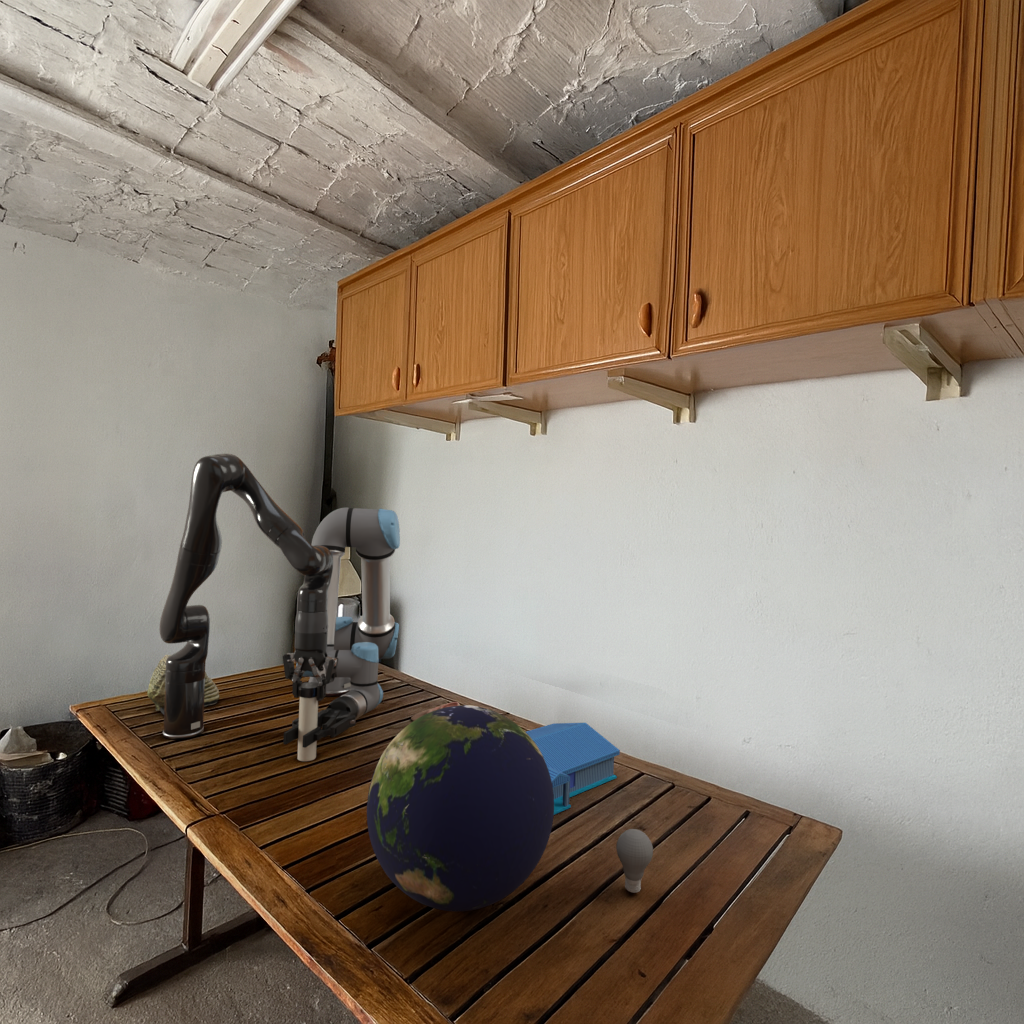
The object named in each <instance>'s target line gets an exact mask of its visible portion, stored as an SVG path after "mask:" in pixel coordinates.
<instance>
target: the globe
mask: <svg viewBox="0 0 1024 1024" xmlns="http://www.w3.org/2000/svg"><path fill="white" fill-rule="evenodd" d="M368 788H369V789H368V794H367V801H366V822H367V832H368V836H369V840H370V844H371V847H372V851H373V853H374V855H375V857H376V859H377V861H378V864H379V865H380V867H381V869H382V870H383V872H384V873H385V875H386V876H387V877H388V878H389V880H390V881H391V883H393V884H394V885H395V886H396V887H397V888H398V890H400V891H401V892H402V893H404V894H405V895H406V896H408V897H409V898H410V899H412V900H413V901H415V902H417V903H419V904H421V905H424V906H426V907H428V908H429V907H430V908H431V909H436V910H439V911H445V912H455V913H456V912H471V911H475V910H479V909H483V908H486V907H489V906H491V905H494V904H496V903H499V902H500V901H502V900H503V899H505V898H506V897H508V896H509V895H511V894H512V893H514V892H515V891H516V890H517V889H518V888H519V887H520V886H522V885H523V884H524V882H526V880H527V879H528V878H529V877H530V875H532V873H533V871H534V870H535V869H536V867H537V866H538V864H539V863H540V860H541V859H542V857H543V855H544V853H545V850H546V848H547V846H548V843H549V841H550V837H551V833H552V827H553V823H554V816H555V815H554V794H553V786H552V782H551V777H550V774H549V770H548V767H547V765H546V763H545V760H544V757H543V755H542V753H541V752H540V750H539V748H538V747H537V745H536V744H535V742H534V741H533V740H532V739H531V737H530V736H529V735H528V734H527V733H526V731H525V730H524V729H523V728H522V727H521V726H520V725H518V723H516V722H514V721H513V720H512V719H510V718H508V717H507V716H505V715H503V714H501V713H499V712H497V711H494V710H493V709H489V708H485V707H482V706H477V705H469V704H468V705H467V704H465V705H460V706H451V707H445V708H441V709H438V710H435V711H432V712H430V713H427V714H425V715H423V716H421V717H419V718H418V719H416V720H415V721H413V720H412V721H411V722H409V724H407V725H406V726H405V727H404V728H402V729H401V731H399V733H398V734H396V736H395V737H394V738H393V739H392V740H391V741H390V742H389V743H388V745H387V747H385V749H384V751H382V754H381V755H380V758H379V760H378V762H377V763H376V766H375V769H374V771H373V774H372V777H371V780H370V783H369V787H368Z"/></svg>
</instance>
